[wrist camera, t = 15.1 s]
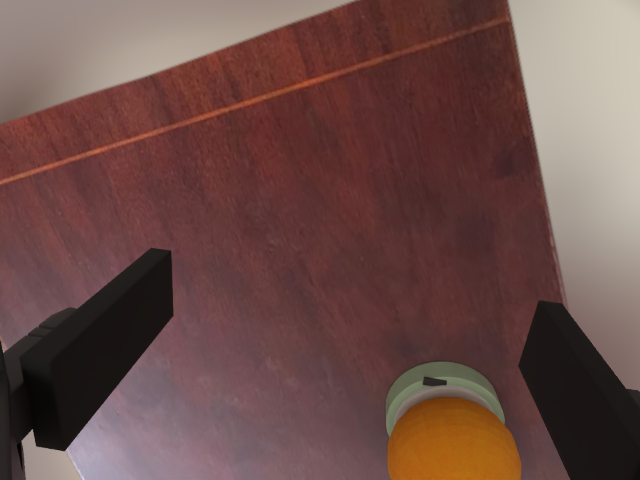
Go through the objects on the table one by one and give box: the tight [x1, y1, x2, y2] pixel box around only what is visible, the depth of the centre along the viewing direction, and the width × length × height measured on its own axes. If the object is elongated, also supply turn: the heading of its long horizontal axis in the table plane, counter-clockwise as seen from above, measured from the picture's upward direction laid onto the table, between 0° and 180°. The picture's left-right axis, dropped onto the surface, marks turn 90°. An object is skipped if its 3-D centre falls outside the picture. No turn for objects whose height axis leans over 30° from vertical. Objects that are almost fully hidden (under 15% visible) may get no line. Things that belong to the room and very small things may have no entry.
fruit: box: [387, 397, 521, 480], centre depth 40 cm, size 12×12×10 cm
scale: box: [385, 361, 505, 437], centre depth 46 cm, size 12×12×3 cm
